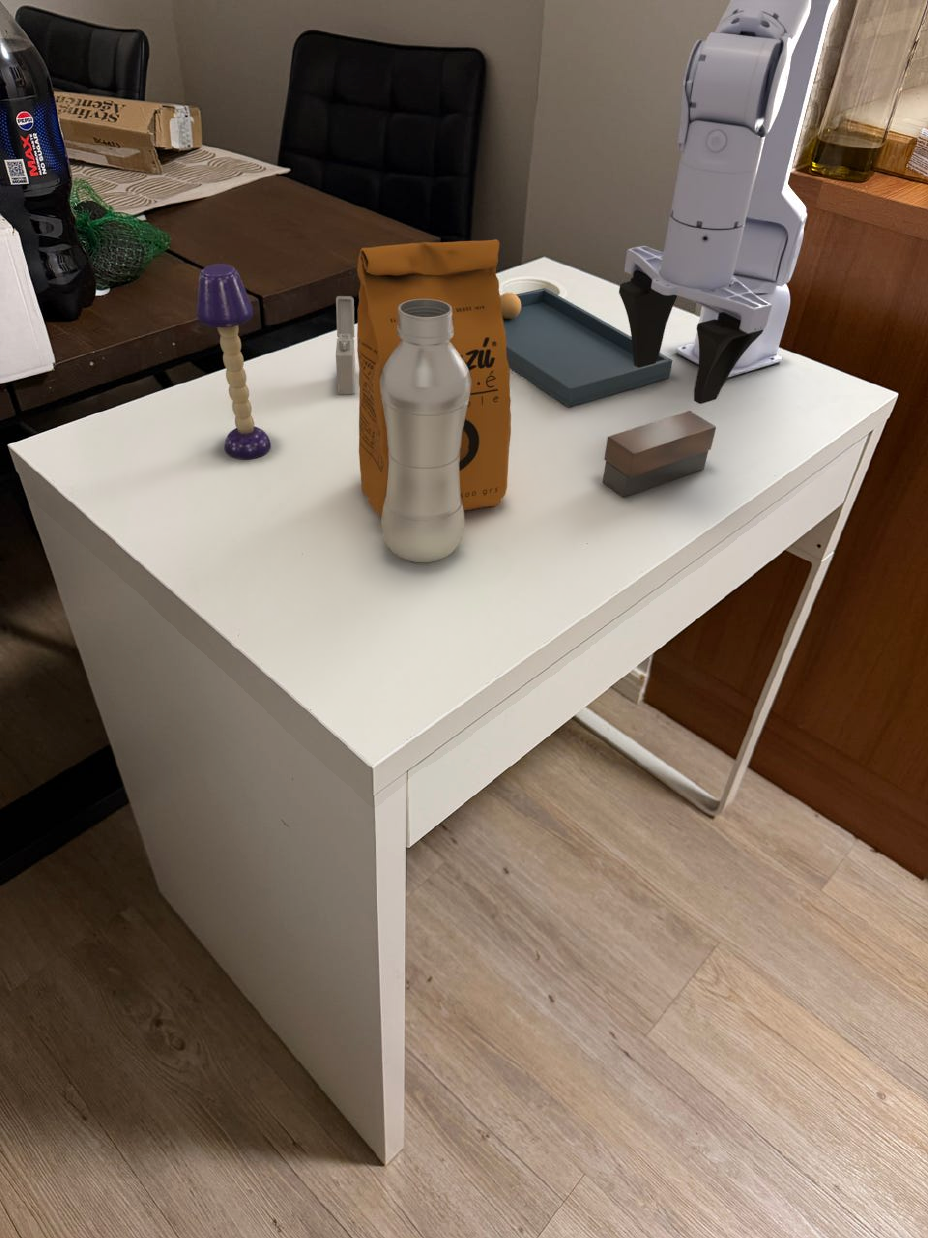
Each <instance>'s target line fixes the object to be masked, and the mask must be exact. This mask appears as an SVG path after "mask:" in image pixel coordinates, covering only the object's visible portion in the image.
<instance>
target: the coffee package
mask: <svg viewBox="0 0 928 1238" xmlns="http://www.w3.org/2000/svg"><path fill="white" fill-rule="evenodd" d="M499 251H500V240H498V239H497V238H496V239H495V238H494V239H488V240H459V241H458V240H457V241H447V242H446V241H444V242H441V241H440V242H427V241H422V242H410V243H400V244H390V245H379V246H373V247H361V249H360V250H359V255H358V258H357V259H358V261H357V266H356V271H357V276H358V279H359V282H360V286H359V291H358V305H357V328H356V340H357V341H356V342H357V343H356V344H357V347H356V349H357V350H356V353H357V361H358V369H359V370H358V388H359V397H358V398H359V399H358V400H359V401H358V404H359V405H358V406H359V407H358V460H359V470H360V484H361V490H362V492H363V494H364V495H365V496H366V498H367V500H368V502H369V504H370V506H371V507H372V509H373V510H374V511H375V512H376V513H377V514H378V516H380V518H382V512H383V505H384V501H385V498H386V493H387V481H388V469H389V457H388V449H389V448H388V442H387V427H386V421H385V415H384V409H383V403H382V396H381V391H380V377H381V374H382V370H383V367H384V365H385V364H386V362H387V360H388V359H389V357H390V355H391V354H392V352H393V351H394V350H395V348H396V347H397V346H398V344H399V343H400V342H401V338H400V337H399V336H398V335H397V326H398V308H399V305H400V304H402V303H403V302H406V301H409V300H414V299H434V300H439V301H443V302H445V303H447V304H449V305H450V306H451V307H452V325H453V327H454V336H453V337H452V338H451V339H450V342H451V344H452V345H453V346H454V348H455V349H456V350H457V351H458V353H459V354H460V356H461V357H462V359H463V361H464V362H465V364H466V365H467V367H468V370H469V374H470V378H471V390H470V396H469V402H468V406H467V411H466V416H465V421H464V426H463V432H462V442H461V448H460V461H459V471H460V493H461V499H462V503H463V509H464V511H468V510H473V509H481V508H485V507H496V506H499V505H500V504H501V503H502V499H504V497H505V496H506V494H507V491H508V475H509V459H510V445H511V437H512V413H511V403H512V398H511V383H510V382H511V369H510V368H509V365H508V361H507V357H506V343H507V340H506V334H505V327H504V323H503V318H502V310H501V299H500V296H501V294H500V281H499V279H498V276H497V275H496V273H497V272H496V269H497V265H498V263H499Z"/></svg>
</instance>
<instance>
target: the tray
mask: <svg viewBox="0 0 928 1238" xmlns="http://www.w3.org/2000/svg"><path fill="white" fill-rule="evenodd" d="M514 294H515V293H514ZM515 295H517V296H518V297H519V299H520V301H521V311H520V313H519V314H518V315H517V316H516V317H515V318H513V319H504V318H503V323H504V327H505V334H506V340H507V343H506V357H507V361H508V365H509V369H510V370H512V371H514V372H515V373H517V374H518V375H520V376H521V377H522V378H524V379H526V381H528V382H529V383H531V384H533V385H534V386H535V387H537V388H539V389H540V390H542V391H543V392H545V393H546V394H547V395H549V396H551V397H552V398H553V399H555V400H556V401H558V402H559V403H561V404H562V405H563V406H565V407H567V408H571V407H574V406H578V405H581V404H585V403H588V402H591V401H594V400H598V399H602V398H605V397H609V396H613V395H615V394H619V393H622V392H625V391H629V390H632V389H636V388H640V387H642V386H646V385H649V384H653V383H657V382H660V381H663V380H667V379H670V376H671V372H672V366H673V361H674V360H673V359H672V358H670V357H668V356H667V355H664V354H663V353H661V352H660V353H659V356H658V359H657V361H656V363H655V364H651V365H648V366H644V367H640V368H638V367H636V366H634V358H633V347H632V337H631V335H629V334H628V333H626V332H625V331H624V332H623V331H622V330H620V329H618V327H615V326H613V325H611V324H610V323H608V322H606V321H604V320H603V319H601V318H599V317H597V316H596V315H594V314H592V313H590V312H589V311H587V310H585V309H584V308H581V306H578V305H576V304H574V303H573V302H571V301H569V300H568V299H565V298H564V297H562V296H560V295H558V294H556V293H555V292H553V291H551V290H550V289H548V288H546V287H543V288H539V289H534V290H529V291H526V292H520V293H516V294H515Z"/></svg>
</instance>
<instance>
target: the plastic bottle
mask: <svg viewBox="0 0 928 1238" xmlns="http://www.w3.org/2000/svg"><path fill="white" fill-rule="evenodd" d="M397 335H398V336H399V337H400V338H401V342H400V343H399V344H398V346H397V347H396V348H395V350H394V351H393V352H392V354H391V355H390V357H389V359H388V360H387V362H386V364H385V365H384V367H383V370H382V374H381V377H380V391H381V396H382V403H383V409H384V415H385V421H386V427H387V442H388V448H389V449H388V457H389V469H388V481H387V493H386V498H385V501H384V505H383V512H382V517H381V521H380V527H381V531H382V536H383V540H384V543H385V544H386V546H387V547H388V548H389V550H390V551H391V552H392V553H393V554H394V555H395V556H397V557H399V558H401V559H403V560H406V561H410V562H413V563H414V562H415V563H431V562H435V561H440V560H443V559H445V558H447V557H448V556H450V555H451V554H452V553H453V552H454V551H455V550H456V549H457V548H458V547H459V545H460V544H461V542H462V539H463V534H464V531H465V526H466V522H465V510H464V509H463V503H462V499H461V493H460V471H459V461H460V448H461V442H462V432H463V426H464V421H465V416H466V411H467V406H468V402H469V396H470V390H471V378H470V374H469V370H468V367H467V365H466V364H465V362H464V361H463V359H462V357H461V356H460V354H459V353H458V351H457V350H456V349H455V348H454V346H453V345H452V344H451V342H450V339H451V338H452V337H453V336H454V327H453V325H452V307H451V306H450V305H449V304H447V303H445V302H443V301H439V300H434V299H414V300H409V301H406V302H403V303H402V304H400V305H399V308H398V326H397Z"/></svg>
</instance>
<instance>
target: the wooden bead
mask: <svg viewBox="0 0 928 1238" xmlns="http://www.w3.org/2000/svg"><path fill="white" fill-rule="evenodd" d="M500 299H501V310H502V318H504V319H513V318H515V317H516V316H517V315H518V314H519V313H520V311H521V301H520V299H519V297H518V296H517V295H515V293H514V292H505V293H503V294H500Z"/></svg>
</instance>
